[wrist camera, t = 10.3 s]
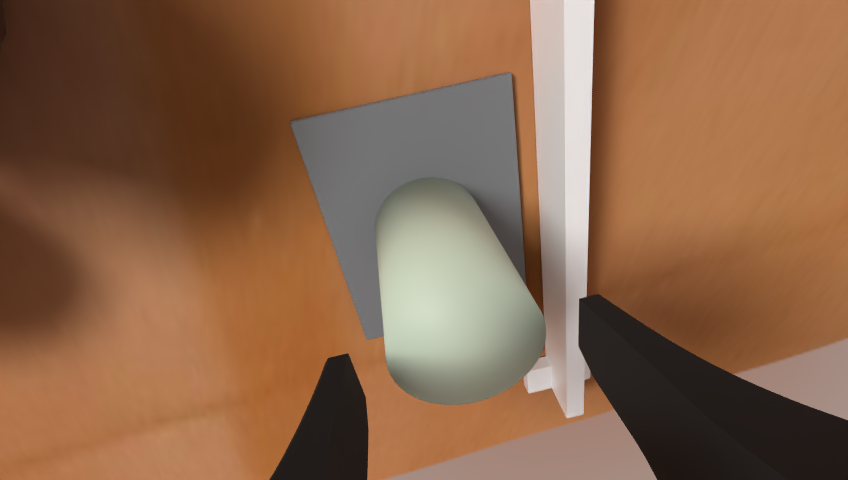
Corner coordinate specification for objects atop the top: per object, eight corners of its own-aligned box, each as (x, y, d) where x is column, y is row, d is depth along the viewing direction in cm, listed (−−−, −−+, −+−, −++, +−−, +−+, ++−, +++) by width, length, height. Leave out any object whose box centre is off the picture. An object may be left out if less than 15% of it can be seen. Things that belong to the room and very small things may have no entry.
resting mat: (509, 72, 17) (511, 73, 17) (525, 298, 23) (527, 301, 23) (291, 120, 17) (290, 123, 16) (366, 336, 23) (367, 339, 23)
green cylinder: (473, 166, 18) (543, 264, 12) (485, 258, 21) (548, 383, 14) (362, 191, 18) (367, 306, 11) (388, 281, 21) (404, 419, 14)
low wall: (598, -180, 13) (655, -221, 11) (584, 368, 27) (608, 408, 24) (477, -155, 13) (506, -190, 11) (524, 383, 27) (541, 424, 24)
